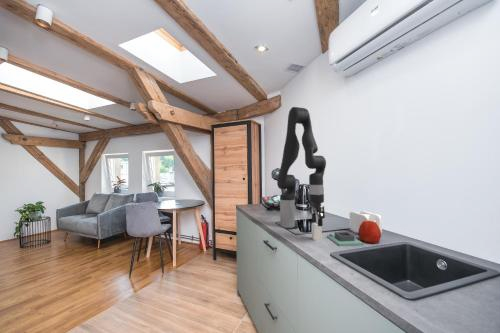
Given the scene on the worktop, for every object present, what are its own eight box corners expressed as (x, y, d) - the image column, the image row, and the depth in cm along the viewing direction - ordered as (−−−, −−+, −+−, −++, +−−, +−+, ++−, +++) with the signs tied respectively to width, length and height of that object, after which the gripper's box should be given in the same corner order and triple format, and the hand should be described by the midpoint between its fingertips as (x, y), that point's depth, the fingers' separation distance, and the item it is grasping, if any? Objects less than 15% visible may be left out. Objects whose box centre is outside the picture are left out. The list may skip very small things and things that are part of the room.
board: (327, 236, 120) (327, 230, 120) (348, 236, 121) (348, 229, 121) (339, 245, 106) (339, 238, 106) (363, 245, 107) (363, 237, 107)
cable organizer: (348, 230, 133) (348, 210, 133) (363, 229, 135) (363, 210, 135) (366, 237, 118) (366, 216, 118) (383, 236, 120) (383, 215, 121)
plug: (311, 238, 118) (311, 222, 118) (318, 237, 119) (318, 222, 119) (314, 240, 114) (314, 224, 114) (321, 240, 115) (321, 224, 115)
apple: (375, 238, 118) (374, 218, 118) (385, 244, 107) (385, 223, 108) (355, 237, 118) (355, 218, 118) (364, 244, 108) (363, 222, 108)
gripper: (305, 192, 123) (305, 221, 123) (314, 194, 109) (315, 227, 109) (318, 191, 124) (318, 221, 124) (329, 194, 110) (329, 227, 109)
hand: (317, 224), depth 116 cm, fingers open, 8 cm apart
